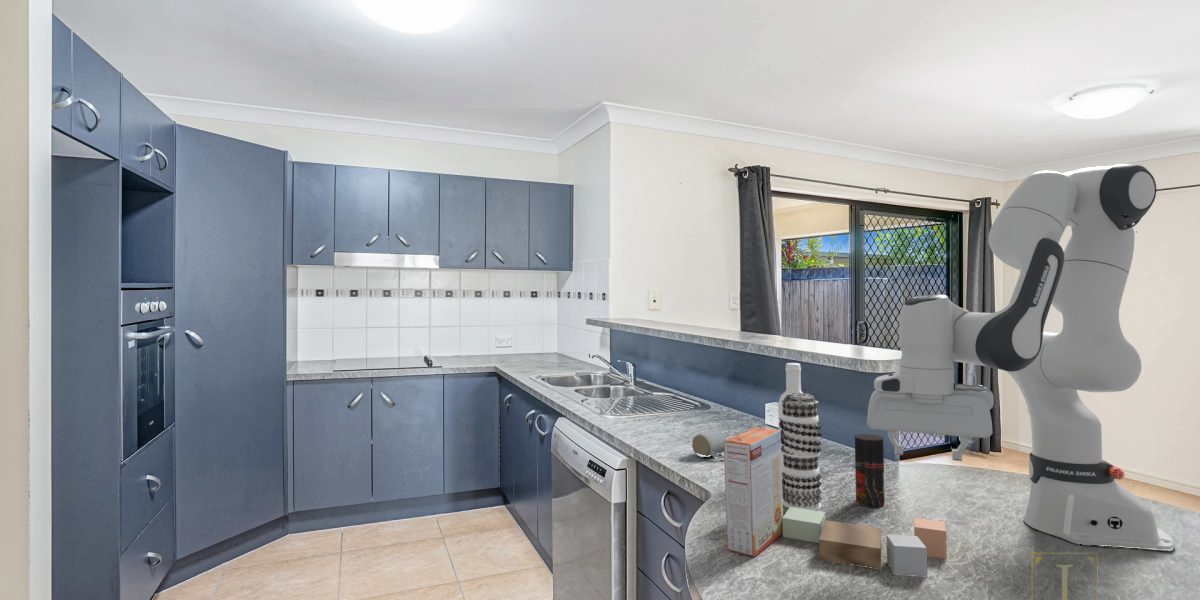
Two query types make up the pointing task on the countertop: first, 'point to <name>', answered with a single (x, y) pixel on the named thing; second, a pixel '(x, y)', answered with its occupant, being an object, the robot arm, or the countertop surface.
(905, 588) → the countertop surface
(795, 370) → the bottle
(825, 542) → the walnut block
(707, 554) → the countertop surface
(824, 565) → the countertop surface
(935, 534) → the terracotta cube
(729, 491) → the cracker box
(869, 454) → the deodorant
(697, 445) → the ceramic mug
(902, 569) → the grey cube
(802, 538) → the sage block
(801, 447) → the decorative candle
